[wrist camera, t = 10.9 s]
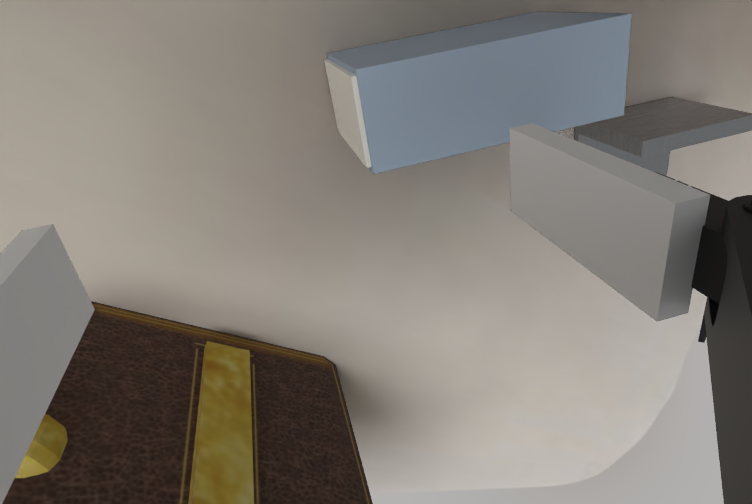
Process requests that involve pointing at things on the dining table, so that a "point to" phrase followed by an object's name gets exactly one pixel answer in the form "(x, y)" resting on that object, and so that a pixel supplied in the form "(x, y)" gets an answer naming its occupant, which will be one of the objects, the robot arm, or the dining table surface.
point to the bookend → (661, 130)
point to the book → (190, 422)
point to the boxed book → (478, 85)
